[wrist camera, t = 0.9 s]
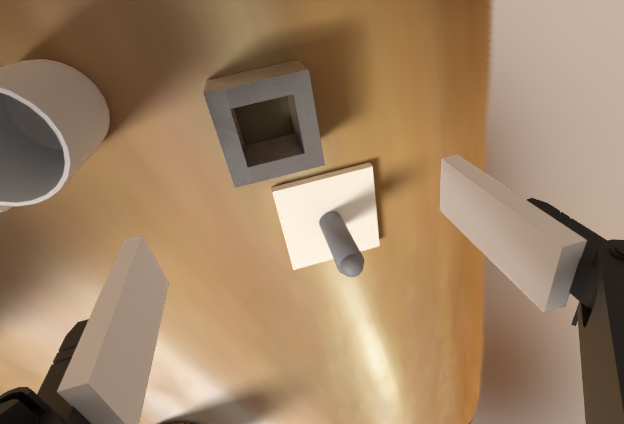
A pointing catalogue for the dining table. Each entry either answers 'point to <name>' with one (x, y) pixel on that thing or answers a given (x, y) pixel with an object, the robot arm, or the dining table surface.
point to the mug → (180, 423)
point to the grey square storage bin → (274, 152)
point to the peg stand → (330, 218)
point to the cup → (45, 128)
